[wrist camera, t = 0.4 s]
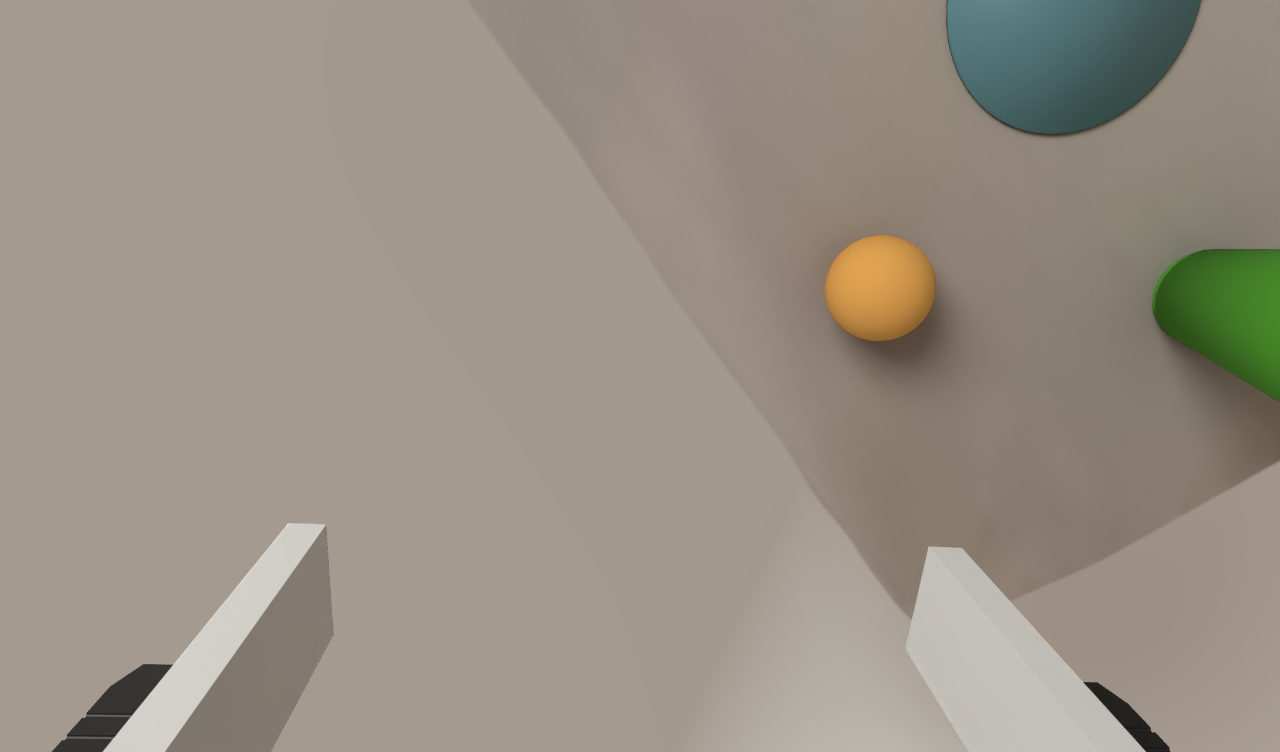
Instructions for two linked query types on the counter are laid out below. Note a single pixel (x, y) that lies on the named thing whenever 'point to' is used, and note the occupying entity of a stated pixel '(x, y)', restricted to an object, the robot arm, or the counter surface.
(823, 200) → the counter surface
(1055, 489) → the counter surface
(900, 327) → the ball
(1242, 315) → the green tapered cylinder
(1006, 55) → the teal ellipsoid
